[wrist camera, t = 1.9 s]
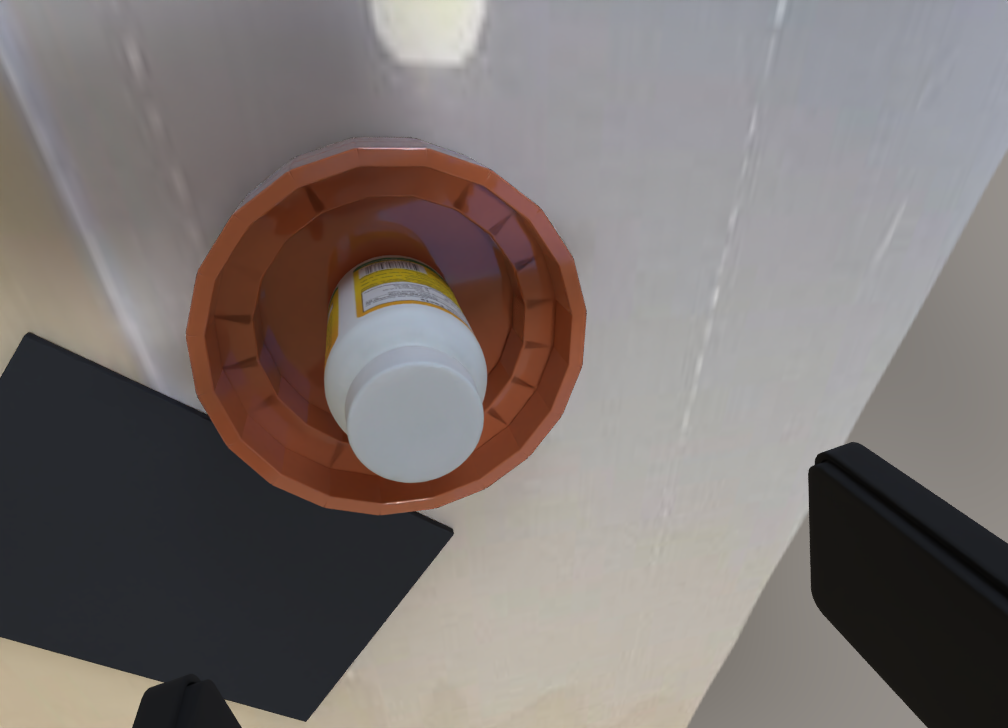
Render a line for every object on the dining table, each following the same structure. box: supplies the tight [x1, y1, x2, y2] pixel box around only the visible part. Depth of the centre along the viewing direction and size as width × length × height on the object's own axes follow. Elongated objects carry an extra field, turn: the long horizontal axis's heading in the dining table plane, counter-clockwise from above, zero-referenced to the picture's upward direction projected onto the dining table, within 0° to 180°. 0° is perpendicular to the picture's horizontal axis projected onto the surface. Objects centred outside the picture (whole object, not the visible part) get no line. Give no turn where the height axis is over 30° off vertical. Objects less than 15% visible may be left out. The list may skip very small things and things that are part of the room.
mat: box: [0, 333, 454, 722], centre depth 30 cm, size 20×14×1 cm
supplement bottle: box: [324, 255, 487, 483], centre depth 23 cm, size 5×5×10 cm
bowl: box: [186, 137, 587, 515], centre depth 26 cm, size 14×14×4 cm
